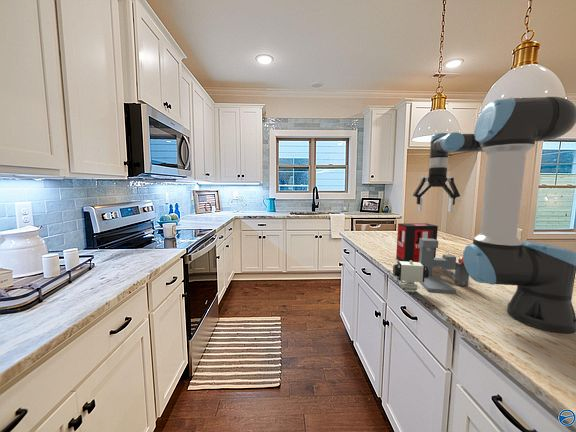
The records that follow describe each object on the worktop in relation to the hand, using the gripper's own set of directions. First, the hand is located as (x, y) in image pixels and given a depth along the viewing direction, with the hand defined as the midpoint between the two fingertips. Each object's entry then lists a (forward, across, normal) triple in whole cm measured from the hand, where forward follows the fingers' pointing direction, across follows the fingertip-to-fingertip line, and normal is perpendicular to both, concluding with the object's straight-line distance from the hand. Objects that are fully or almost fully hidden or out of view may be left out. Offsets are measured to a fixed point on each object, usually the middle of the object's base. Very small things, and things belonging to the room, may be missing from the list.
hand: (434, 211), depth 125 cm
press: (+28, +4, +21) cm, 35 cm away
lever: (+28, -3, +15) cm, 32 cm away
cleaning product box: (+28, +5, -9) cm, 30 cm away
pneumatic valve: (+28, +20, +33) cm, 48 cm away
